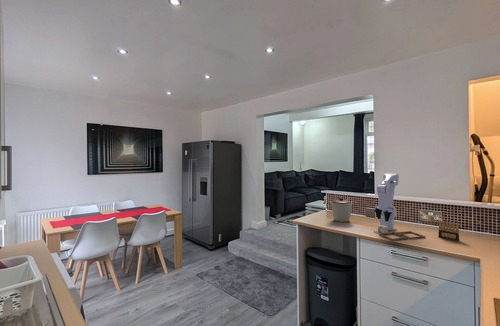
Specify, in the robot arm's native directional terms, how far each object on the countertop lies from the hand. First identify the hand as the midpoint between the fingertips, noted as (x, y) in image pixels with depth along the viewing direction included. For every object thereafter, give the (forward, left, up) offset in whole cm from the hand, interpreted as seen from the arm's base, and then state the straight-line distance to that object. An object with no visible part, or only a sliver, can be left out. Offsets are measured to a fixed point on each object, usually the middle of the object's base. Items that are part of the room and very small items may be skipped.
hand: (382, 220), depth 173 cm
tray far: (+11, +13, -9) cm, 19 cm away
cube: (0, 0, -9) cm, 9 cm away
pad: (0, 0, -9) cm, 9 cm away
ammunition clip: (+22, +32, -10) cm, 40 cm away
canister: (-39, -9, -10) cm, 42 cm away
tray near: (+11, -1, -9) cm, 14 cm away
